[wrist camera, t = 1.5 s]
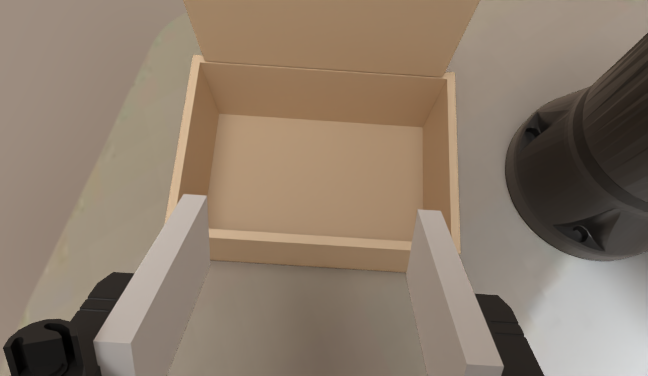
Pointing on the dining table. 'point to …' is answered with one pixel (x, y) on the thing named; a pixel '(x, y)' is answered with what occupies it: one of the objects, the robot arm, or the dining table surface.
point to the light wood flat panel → (333, 33)
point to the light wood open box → (317, 162)
